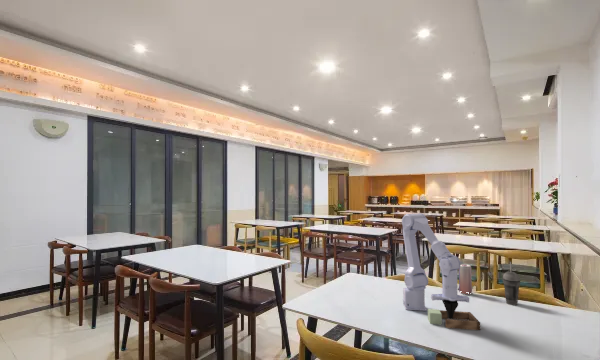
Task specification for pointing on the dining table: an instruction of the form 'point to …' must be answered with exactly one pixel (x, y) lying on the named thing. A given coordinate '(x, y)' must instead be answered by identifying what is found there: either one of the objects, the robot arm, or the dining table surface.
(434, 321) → the cube
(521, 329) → the dining table surface
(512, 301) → the beverage cup
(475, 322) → the frame
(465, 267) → the beverage can
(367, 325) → the dining table surface
